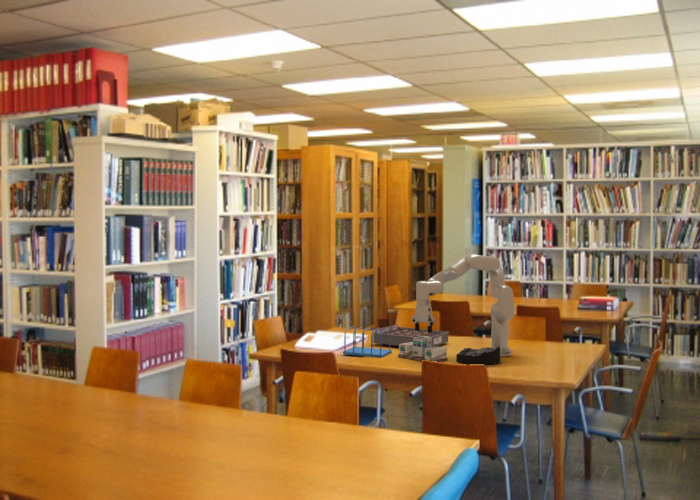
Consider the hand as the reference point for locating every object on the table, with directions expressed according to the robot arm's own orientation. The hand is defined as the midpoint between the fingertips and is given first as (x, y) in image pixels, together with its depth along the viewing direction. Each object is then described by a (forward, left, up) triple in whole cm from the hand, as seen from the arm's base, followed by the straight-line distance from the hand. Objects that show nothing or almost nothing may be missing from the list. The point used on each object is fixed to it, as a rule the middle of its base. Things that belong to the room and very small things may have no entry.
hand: (423, 331), depth 413 cm
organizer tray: (+37, -31, -16) cm, 51 cm away
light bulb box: (+1, 0, -14) cm, 14 cm away
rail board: (0, 0, -16) cm, 16 cm away
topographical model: (-27, -17, -16) cm, 35 cm away
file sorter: (+33, +13, -16) cm, 39 cm away
